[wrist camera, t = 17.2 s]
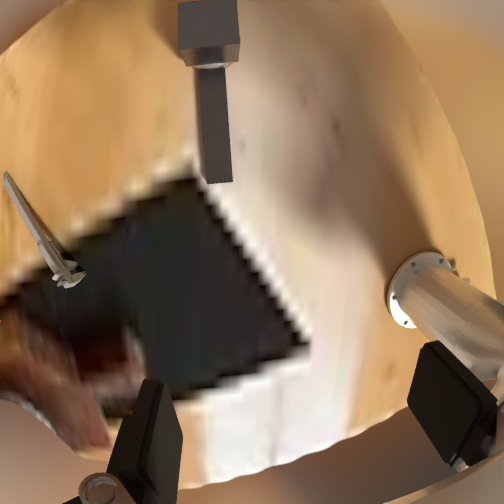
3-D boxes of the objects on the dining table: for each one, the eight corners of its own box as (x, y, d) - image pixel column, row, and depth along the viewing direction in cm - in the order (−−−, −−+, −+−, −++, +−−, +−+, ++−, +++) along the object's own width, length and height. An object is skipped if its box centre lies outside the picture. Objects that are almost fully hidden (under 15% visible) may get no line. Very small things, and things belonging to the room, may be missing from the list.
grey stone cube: (234, 20, 30) (236, -3, 24) (238, 61, 31) (240, 44, 26) (184, 24, 29) (178, 3, 24) (186, 66, 31) (179, 50, 25)
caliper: (88, 272, 39) (69, 289, 33) (84, 277, 40) (64, 294, 34) (7, 171, 34) (-18, 174, 28) (4, 176, 34) (-22, 180, 28)
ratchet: (237, 22, 31) (239, 5, 27) (249, 179, 37) (252, 182, 33) (182, 27, 31) (177, 11, 26) (191, 184, 37) (186, 188, 32)
